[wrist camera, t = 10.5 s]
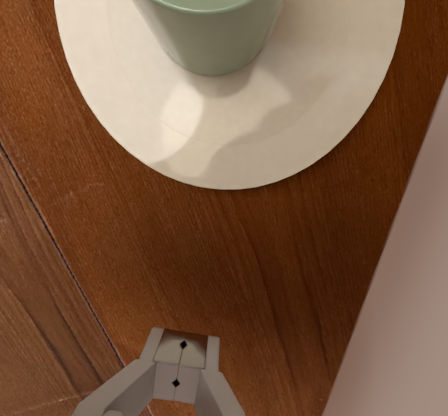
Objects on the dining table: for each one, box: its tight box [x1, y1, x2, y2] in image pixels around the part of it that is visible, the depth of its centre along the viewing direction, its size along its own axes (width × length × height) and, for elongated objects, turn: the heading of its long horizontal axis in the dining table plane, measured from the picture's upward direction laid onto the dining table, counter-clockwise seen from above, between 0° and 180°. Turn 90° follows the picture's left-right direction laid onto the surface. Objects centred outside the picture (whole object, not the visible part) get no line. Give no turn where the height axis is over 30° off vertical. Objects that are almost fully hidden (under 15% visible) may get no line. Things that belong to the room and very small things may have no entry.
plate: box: [54, 0, 405, 190], centre depth 13 cm, size 18×18×2 cm
